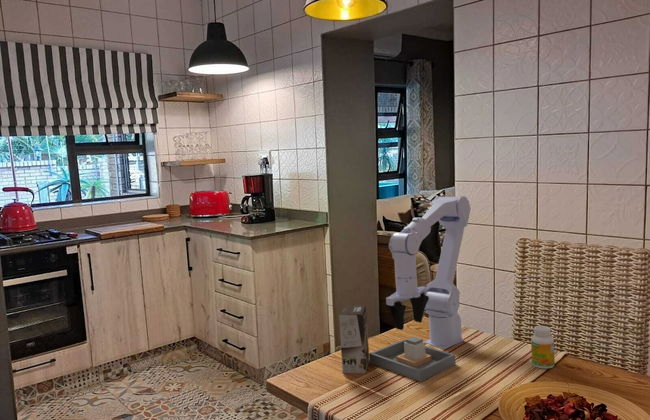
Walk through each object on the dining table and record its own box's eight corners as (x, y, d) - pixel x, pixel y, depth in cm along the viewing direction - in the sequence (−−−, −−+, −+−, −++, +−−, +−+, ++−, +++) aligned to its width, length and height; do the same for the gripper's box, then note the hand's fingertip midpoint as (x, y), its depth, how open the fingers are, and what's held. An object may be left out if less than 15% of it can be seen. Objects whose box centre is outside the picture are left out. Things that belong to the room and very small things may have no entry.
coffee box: (366, 374, 132) (362, 314, 131) (342, 374, 134) (337, 314, 132) (370, 360, 141) (366, 304, 140) (347, 360, 143) (343, 304, 141)
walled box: (404, 349, 148) (404, 339, 148) (455, 365, 134) (455, 354, 134) (369, 363, 139) (369, 353, 139) (420, 383, 125) (419, 371, 125)
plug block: (414, 356, 141) (413, 335, 140) (425, 360, 138) (424, 339, 137) (404, 361, 138) (403, 339, 138) (416, 364, 135) (414, 343, 135)
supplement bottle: (528, 366, 131) (527, 329, 130) (536, 359, 134) (535, 323, 134) (550, 370, 127) (549, 333, 126) (557, 363, 131) (556, 326, 130)
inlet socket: (412, 353, 143) (412, 349, 143) (431, 359, 138) (431, 355, 138) (396, 360, 139) (396, 356, 139) (415, 367, 134) (414, 362, 134)
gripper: (398, 283, 130) (402, 335, 131) (434, 272, 139) (437, 321, 140) (379, 280, 135) (382, 329, 137) (415, 270, 145) (417, 316, 146)
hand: (409, 325), depth 139 cm, fingers open, 7 cm apart
